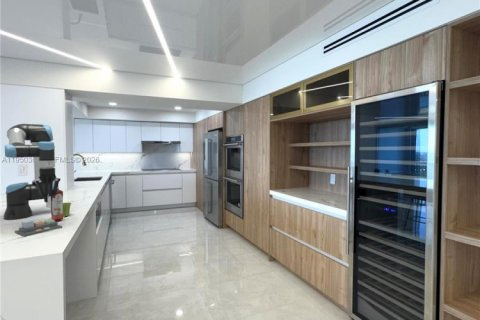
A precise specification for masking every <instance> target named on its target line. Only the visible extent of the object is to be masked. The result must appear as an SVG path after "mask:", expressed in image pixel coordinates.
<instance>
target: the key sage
mask: <svg viewBox="0 0 480 320" xmlns="http://www.w3.org/2000/svg"><path fill="white" fill-rule="evenodd" d="M43 222H45V224H50V223H55V220H53V219H51V218H50V219H45V220H43Z"/></svg>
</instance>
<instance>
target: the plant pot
mask: <svg viewBox="0 0 480 320" xmlns="http://www.w3.org/2000/svg"><path fill="white" fill-rule="evenodd" d="M71 205H72V202H63V218H66V217H69V216H70V211H71V210H70V209H71Z"/></svg>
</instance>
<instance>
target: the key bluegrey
mask: <svg viewBox="0 0 480 320" xmlns="http://www.w3.org/2000/svg"><path fill="white" fill-rule="evenodd" d="M34 223H35V222H34V220H25V221H21V227H22V228H24V229H26V228H31V227H34Z"/></svg>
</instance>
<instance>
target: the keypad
mask: <svg viewBox="0 0 480 320" xmlns="http://www.w3.org/2000/svg"><path fill="white" fill-rule="evenodd" d="M58 222H59V221H56V222H55V223H50V224H45V225H41V226H37V227H35V226H34V227H31V228H26V229H24V228H22V226H21V227H18V230H14V233H15V234H17V235H19V236H22V237H29V236H33V235H37V234H41V233H42V234H43V233H45V232H49V231H54V230H57V229H59V230H60V229H62V228H63V226H62V225H60V224H58Z"/></svg>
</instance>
